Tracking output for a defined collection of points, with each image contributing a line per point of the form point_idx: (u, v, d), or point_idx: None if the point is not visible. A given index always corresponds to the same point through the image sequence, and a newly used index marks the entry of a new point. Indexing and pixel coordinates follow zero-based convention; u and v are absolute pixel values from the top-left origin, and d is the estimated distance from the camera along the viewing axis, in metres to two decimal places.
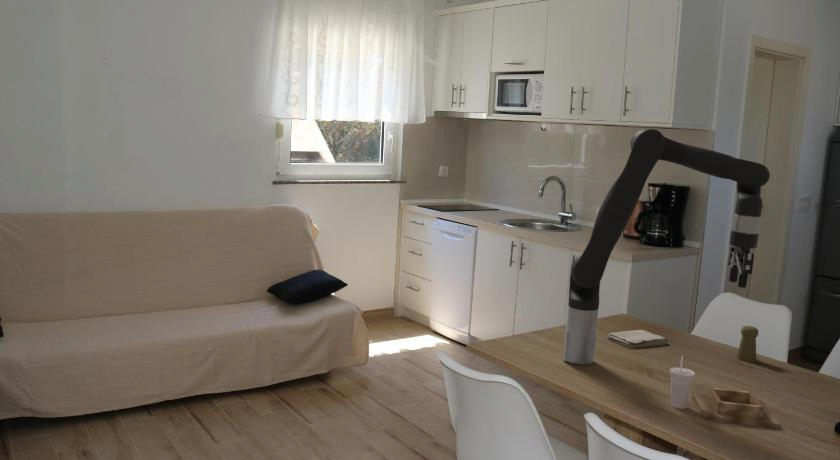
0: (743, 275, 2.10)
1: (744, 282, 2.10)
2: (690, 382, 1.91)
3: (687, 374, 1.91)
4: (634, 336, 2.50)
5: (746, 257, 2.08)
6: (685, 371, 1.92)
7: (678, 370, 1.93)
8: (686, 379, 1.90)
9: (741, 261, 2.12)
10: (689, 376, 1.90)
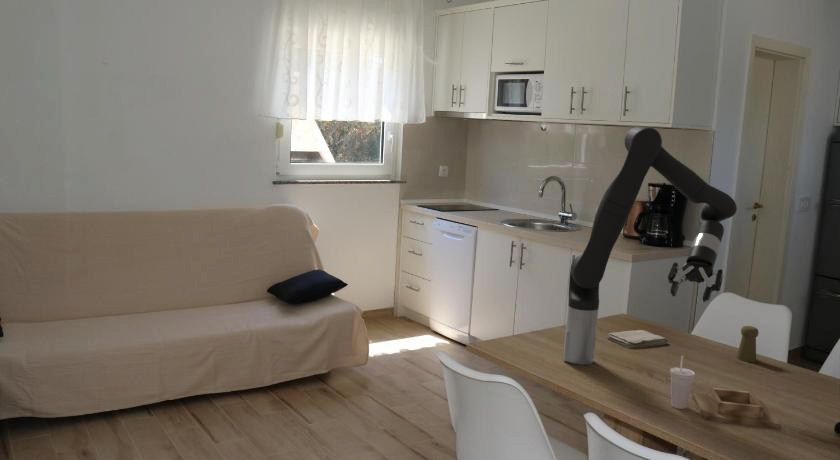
0: (711, 289, 2.03)
1: (709, 296, 2.02)
2: (690, 382, 1.91)
3: (687, 374, 1.91)
4: (634, 336, 2.50)
5: (722, 273, 2.04)
6: (685, 371, 1.92)
7: (678, 370, 1.93)
8: (686, 379, 1.90)
9: None
10: (689, 376, 1.90)
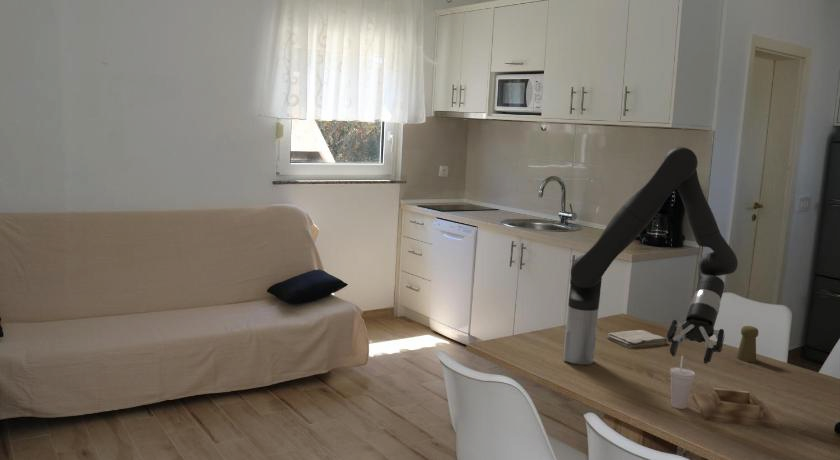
0: (712, 350, 1.95)
1: (710, 358, 1.94)
2: (690, 382, 1.91)
3: (687, 374, 1.91)
4: (634, 336, 2.50)
5: (723, 333, 1.96)
6: (685, 371, 1.92)
7: (678, 370, 1.93)
8: (686, 379, 1.90)
9: None
10: (689, 376, 1.90)
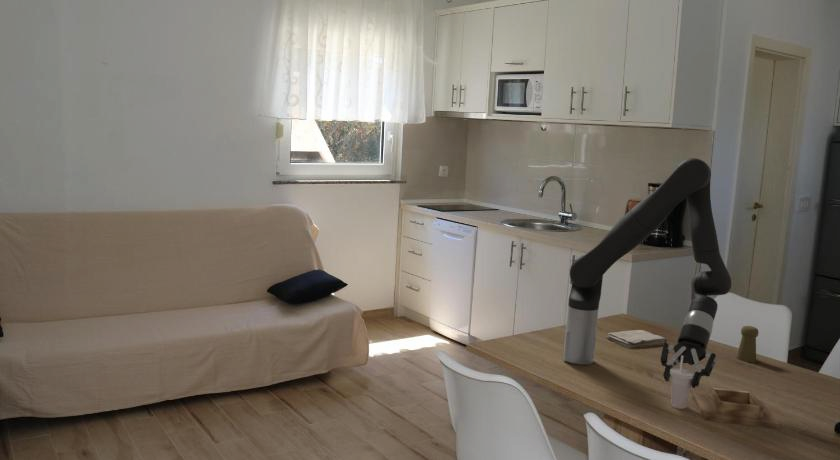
0: (701, 374, 1.91)
1: (698, 382, 1.90)
2: (690, 382, 1.91)
3: (687, 374, 1.91)
4: (633, 336, 2.50)
5: (714, 358, 1.92)
6: (685, 371, 1.92)
7: (678, 370, 1.93)
8: (686, 379, 1.90)
9: None
10: (689, 376, 1.90)
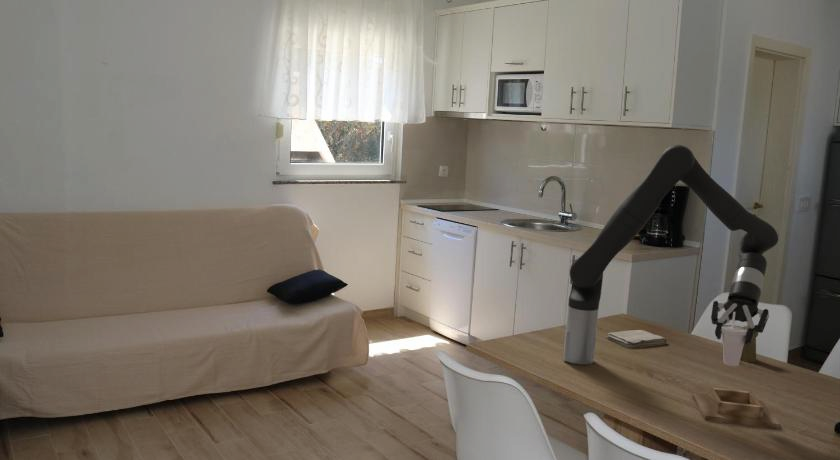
0: (754, 330, 1.87)
1: (752, 338, 1.86)
2: (743, 339, 1.87)
3: (740, 330, 1.87)
4: (633, 336, 2.50)
5: (767, 314, 1.88)
6: (737, 328, 1.88)
7: (730, 327, 1.89)
8: (739, 335, 1.86)
9: None
10: (742, 333, 1.86)
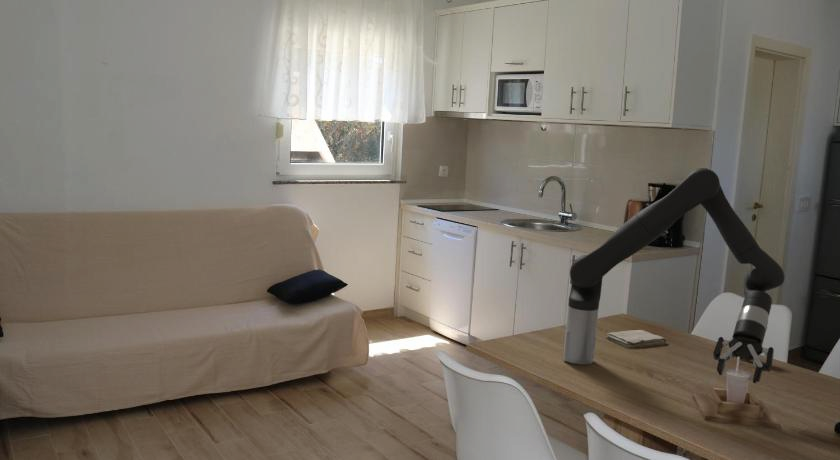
0: (762, 369, 1.88)
1: (759, 377, 1.87)
2: (747, 383, 1.88)
3: (744, 375, 1.88)
4: (633, 336, 2.50)
5: (773, 352, 1.89)
6: (741, 372, 1.90)
7: (734, 371, 1.90)
8: (743, 381, 1.88)
9: None
10: (746, 378, 1.88)
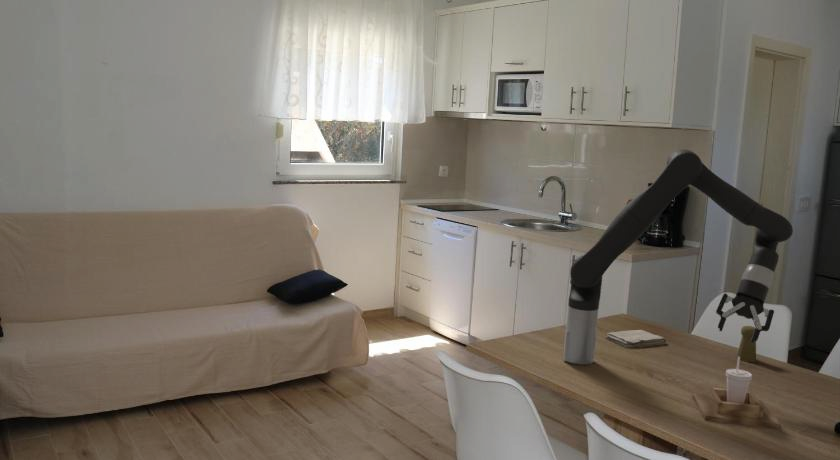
0: (760, 331, 2.01)
1: None
2: (747, 384, 1.88)
3: (744, 375, 1.88)
4: (632, 336, 2.50)
5: None
6: (742, 372, 1.90)
7: (734, 371, 1.90)
8: (743, 381, 1.88)
9: None
10: (746, 378, 1.88)
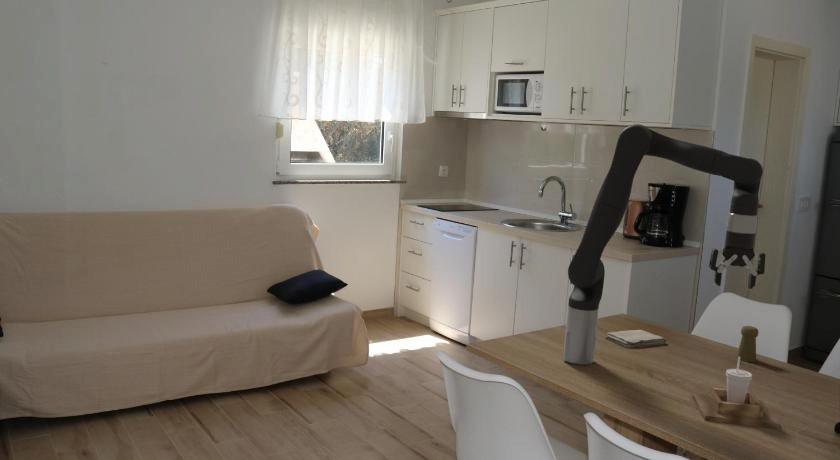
0: None
1: None
2: (747, 384, 1.88)
3: (744, 375, 1.88)
4: (632, 336, 2.50)
5: None
6: (742, 372, 1.90)
7: (734, 371, 1.90)
8: (743, 381, 1.88)
9: None
10: (746, 378, 1.88)
